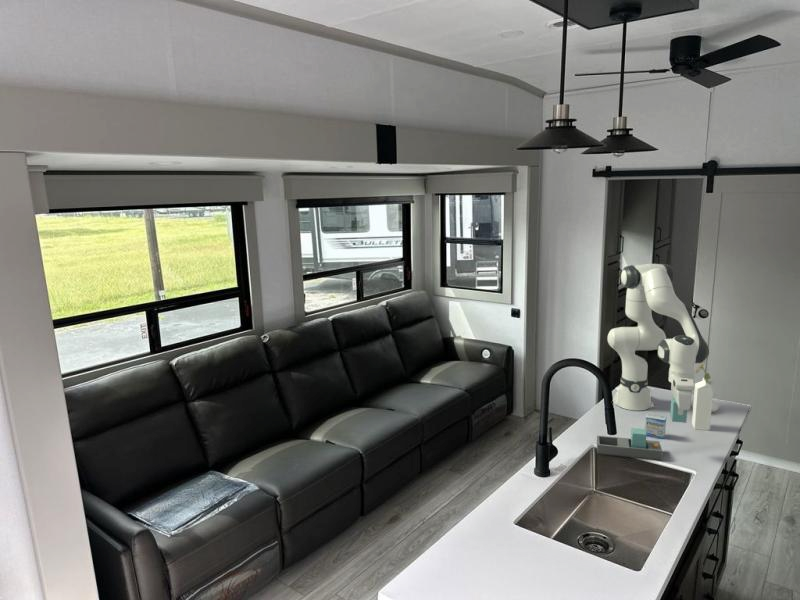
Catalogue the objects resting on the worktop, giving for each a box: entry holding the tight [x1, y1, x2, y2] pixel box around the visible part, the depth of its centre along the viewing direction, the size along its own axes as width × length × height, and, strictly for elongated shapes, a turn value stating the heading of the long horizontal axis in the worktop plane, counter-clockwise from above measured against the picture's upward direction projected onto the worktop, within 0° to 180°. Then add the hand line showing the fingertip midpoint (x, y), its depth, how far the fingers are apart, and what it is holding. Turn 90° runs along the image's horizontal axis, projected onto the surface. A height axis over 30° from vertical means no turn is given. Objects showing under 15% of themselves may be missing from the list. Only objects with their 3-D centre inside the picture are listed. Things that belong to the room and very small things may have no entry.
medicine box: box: [644, 413, 667, 440], centre depth 238 cm, size 8×4×9 cm, turn 62°
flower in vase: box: [691, 359, 720, 413], centre depth 260 cm, size 13×11×25 cm
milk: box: [691, 377, 714, 431], centre depth 243 cm, size 6×6×22 cm
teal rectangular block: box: [669, 397, 688, 424], centre depth 220 cm, size 5×5×8 cm
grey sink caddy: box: [596, 427, 663, 461], centre depth 225 cm, size 9×24×10 cm, turn 73°
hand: (678, 410), depth 220 cm, fingers closed on teal rectangular block, 5 cm apart
